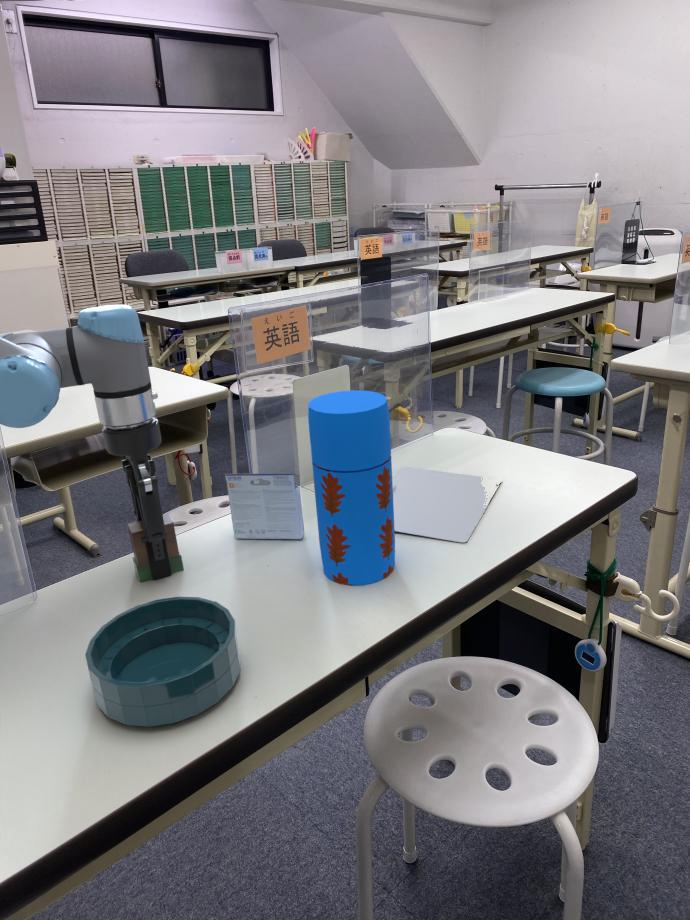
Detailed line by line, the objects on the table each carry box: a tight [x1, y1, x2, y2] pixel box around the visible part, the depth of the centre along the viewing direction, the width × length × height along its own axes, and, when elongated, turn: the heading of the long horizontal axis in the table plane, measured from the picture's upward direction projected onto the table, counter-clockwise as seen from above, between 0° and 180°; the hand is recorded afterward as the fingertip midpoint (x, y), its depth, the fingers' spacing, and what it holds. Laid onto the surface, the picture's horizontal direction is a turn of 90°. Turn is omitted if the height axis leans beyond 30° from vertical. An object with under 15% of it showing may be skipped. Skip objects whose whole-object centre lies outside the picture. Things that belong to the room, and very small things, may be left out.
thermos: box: [307, 389, 396, 586], centre depth 95 cm, size 11×11×25 cm
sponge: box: [127, 513, 184, 583], centre depth 101 cm, size 4×6×8 cm, turn 116°
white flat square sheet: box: [392, 466, 490, 544], centre depth 119 cm, size 25×24×1 cm
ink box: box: [224, 472, 306, 540], centre depth 108 cm, size 12×2×12 cm, turn 80°
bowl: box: [85, 596, 241, 728], centre depth 78 cm, size 16×16×6 cm
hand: (158, 569), depth 102 cm, fingers closed on sponge, 4 cm apart
